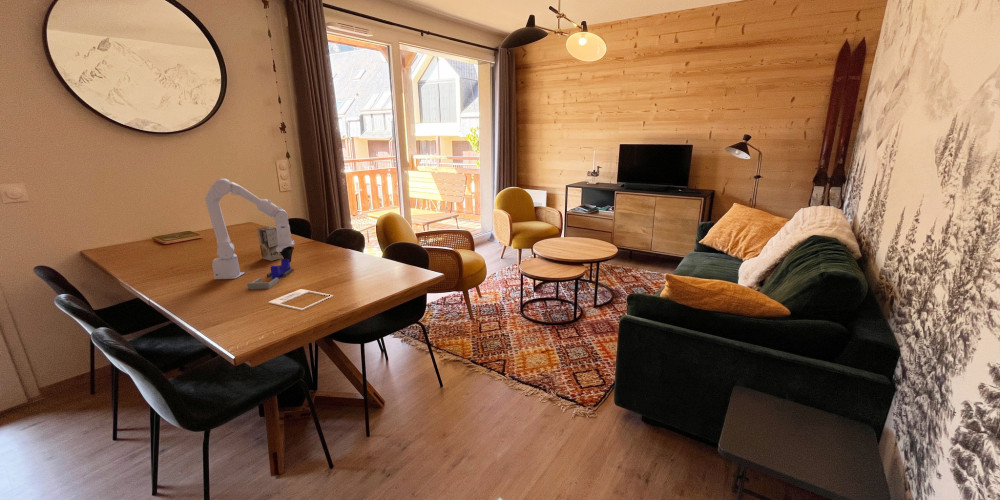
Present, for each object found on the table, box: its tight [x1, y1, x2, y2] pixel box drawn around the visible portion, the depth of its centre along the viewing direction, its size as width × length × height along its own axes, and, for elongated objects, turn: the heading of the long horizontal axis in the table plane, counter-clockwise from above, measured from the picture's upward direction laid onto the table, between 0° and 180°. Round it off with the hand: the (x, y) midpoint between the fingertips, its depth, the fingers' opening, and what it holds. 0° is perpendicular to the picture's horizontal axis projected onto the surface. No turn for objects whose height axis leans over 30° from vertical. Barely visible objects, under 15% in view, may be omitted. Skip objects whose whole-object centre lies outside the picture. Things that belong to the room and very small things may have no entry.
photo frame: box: [267, 288, 334, 312], centre depth 155 cm, size 15×1×18 cm
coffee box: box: [256, 226, 284, 262], centre depth 208 cm, size 9×6×16 cm
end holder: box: [246, 277, 280, 290], centre depth 171 cm, size 8×9×2 cm
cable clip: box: [269, 258, 292, 280], centre depth 184 cm, size 12×4×6 cm, turn 4°
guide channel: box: [266, 268, 294, 278], centre depth 186 cm, size 8×8×1 cm
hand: (288, 262), depth 193 cm, fingers closed
